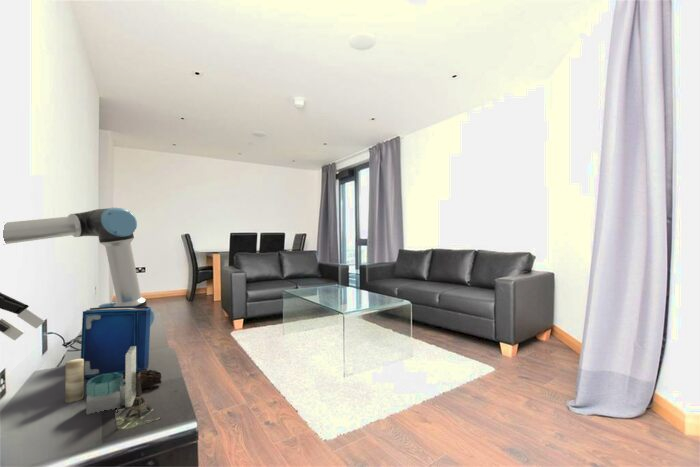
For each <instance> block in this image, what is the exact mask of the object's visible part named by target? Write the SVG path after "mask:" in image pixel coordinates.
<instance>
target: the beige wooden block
mask: <svg viewBox="0 0 700 467" xmlns="http://www.w3.org/2000/svg"><path fill="white" fill-rule="evenodd" d="M64 374H65V378H64V379H65V385H64V387H65V389H64V390H65V391H64V393H65V394H64V395H65V396H64V398H65V399H64V402H65V403H67V404H68V403H69V404H70V403H74V402H75V403H76V402H78V401H81V400H82V399H83V398H84V394H85V392H84V391H85V390H84V388H85V387H84V384H85V378H84V359H81V358H75V359H71V360H70V359H69V360H68V361H66V362H65V373H64Z"/></svg>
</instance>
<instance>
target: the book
mask: <svg viewBox="0 0 700 467" xmlns="http://www.w3.org/2000/svg"><path fill="white" fill-rule="evenodd" d="M151 310H152V307H150V306H147V307H135V306H111V307H99V306H98V307H89V309H85V310H84V311H83V310H82V319H81V320H82V322H81V341H80V342H81V345H80V346H81V347H80V359H84V379H91V378H94V377H96V376H99V375H101V374H107V373H113V372H117V373H122V374H125V372H126V353H127V352H128V350H129V348H130V347H132V346H136V373H139V372H140V371H141V370H148V368H149V363H150V360H149V359H150V340H151V339H150V338H151V337H150V336H151V335H150V334H151V327H150V317H151Z"/></svg>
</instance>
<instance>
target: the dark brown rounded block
mask: <svg viewBox="0 0 700 467" xmlns="http://www.w3.org/2000/svg"><path fill="white" fill-rule="evenodd" d="M138 373H140V374H141V375H140V381H141V390H144V389H151V388H152V389H153V387H154V386H157V385H159V384H162V373H161V372H159V371H158V370H154V369H145V370H141V371H140V372H138ZM138 373H136V390H137V382H138V376H137V375H138ZM123 381H125V378H123ZM152 389H151V390H152Z"/></svg>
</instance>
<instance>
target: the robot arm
mask: <svg viewBox="0 0 700 467" xmlns="http://www.w3.org/2000/svg"><path fill="white" fill-rule="evenodd" d="M6 222H7V223H6V224H5V225H4V230H3V238H4V241H5V243H6V244H5V245H9V244H16V243H23V242H31V241H38V240H40V241H41V240H48V239H56V238H62V237H71V236H72V237H74V238H79V237H98V241H99V244H100V245H103V246H104V247H105V252H106V256H107V257H106V258H107V261H108V266H109V270H110V276H111V281H112V284H113V290H114V294H115V295H114V296H115V300H116V301H112V302H107V303H101V304H100V305H98V308H99V307H111V306H135V307H148V303H147V299H146V298H145V297H143V296H142V294H141V290H140V286H139V279H138V274H137V268H136V264H135V258H134V254H133V248H132V241H133V240H134V239H135V237H134V232H135V231H136V230H137V227H138V220H137V219H136V217H135V215H134V214H133V213H132V212H131V211H130V210H127V209H126V208H122V207H110V208H99V209H93V210H88V211H83V212H77V213H70V214H68V216H62V217H61V216H60V217H59V216H58V217H49V218H39V219H31V220H30V219H29V220H17V221H9V222H8V221H6ZM29 307H30V306H29V305H28V304H26V303H24V302H21V301H19V300H17V299H15V298H12V296H8V295H6V294H4V293H2V292H0V309H1V310H3V311H6V312H10V313H13V314H14V315H15V314H16V316H17V317H18V318H20V319H21V320H23V321H24V322H25V323H27V324H29V325H30V326H32V327H33V328H35V329H38V328H39V327H40V326H42V325H43V324H44V323H45V322H46V321H45V320H44V319H42V318H41V317H40V316H38V315H36V314H35V313H33V312H32V311H30V310H29V309H28V308H29ZM154 322H155V311H153V309H151V317H150V328H151V327H152V325H153V323H154ZM0 332H1V333H2V334H3V335H5V336H6V337H8V338H9V339H11V340H13V341H16V340H17V339H19V338H20V337H21V336H22V335H23V334H25V331H24V330H22V329H21V328H20V327H18V326H17V325H15V324H13V323H12V322H10V321H8V320H7V319H6V318H4V317H2V318H0Z"/></svg>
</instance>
